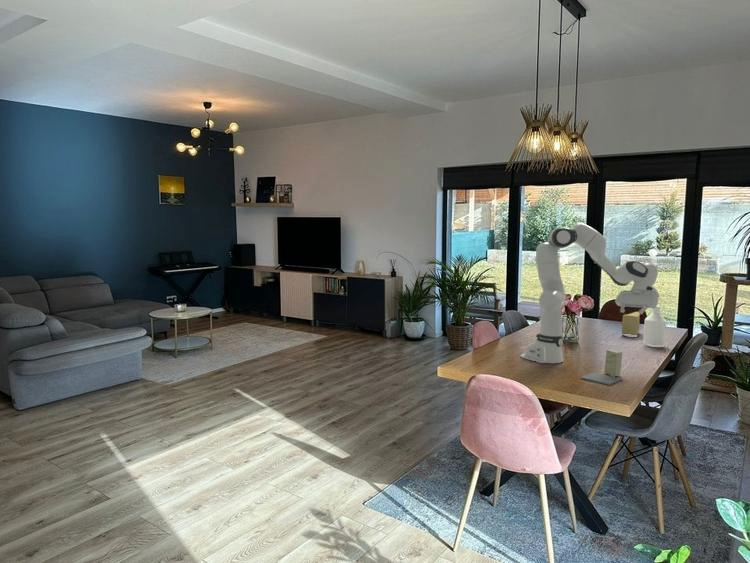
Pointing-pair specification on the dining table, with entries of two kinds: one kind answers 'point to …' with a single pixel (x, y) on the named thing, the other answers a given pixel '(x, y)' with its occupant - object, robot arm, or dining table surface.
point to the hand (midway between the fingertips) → (630, 312)
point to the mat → (601, 378)
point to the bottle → (655, 328)
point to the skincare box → (613, 362)
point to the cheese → (631, 323)
